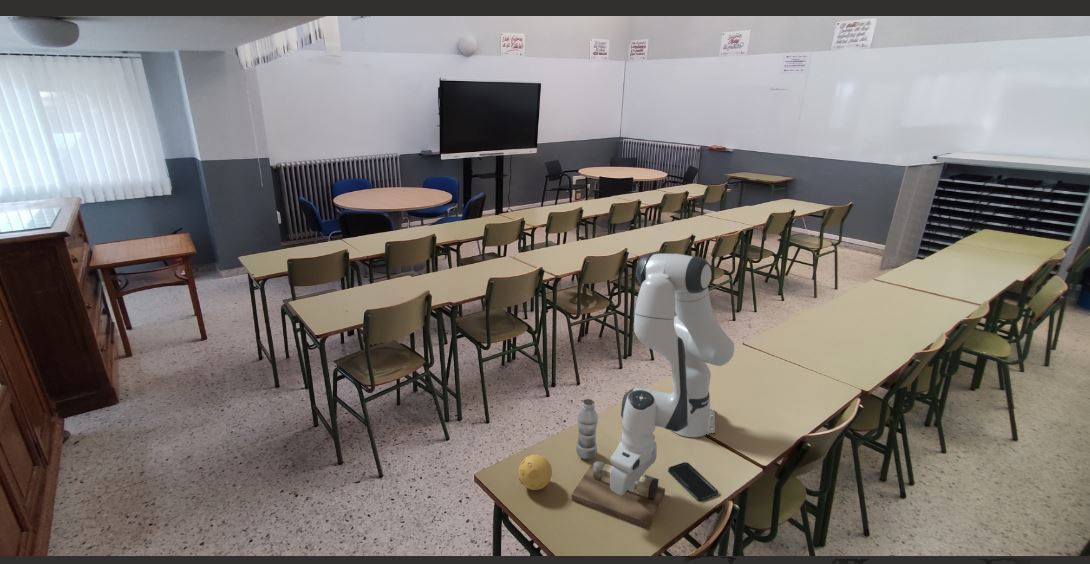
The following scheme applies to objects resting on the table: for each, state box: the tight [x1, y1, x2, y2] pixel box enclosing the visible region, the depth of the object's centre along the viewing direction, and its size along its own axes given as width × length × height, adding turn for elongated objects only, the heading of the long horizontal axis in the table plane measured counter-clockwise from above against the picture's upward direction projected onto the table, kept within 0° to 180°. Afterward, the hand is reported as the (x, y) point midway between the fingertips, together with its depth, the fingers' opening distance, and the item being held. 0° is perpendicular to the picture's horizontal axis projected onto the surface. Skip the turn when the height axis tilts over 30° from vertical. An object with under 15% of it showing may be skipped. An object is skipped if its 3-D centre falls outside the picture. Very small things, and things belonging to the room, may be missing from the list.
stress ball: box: [517, 453, 553, 491], centre depth 153 cm, size 10×10×10 cm
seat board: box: [570, 463, 666, 530], centre depth 150 cm, size 15×23×5 cm, turn 62°
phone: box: [667, 461, 719, 502], centre depth 157 cm, size 8×1×15 cm
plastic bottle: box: [575, 398, 599, 460], centre depth 165 cm, size 6×7×20 cm
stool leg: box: [593, 461, 659, 500], centre depth 152 cm, size 19×3×4 cm, turn 62°
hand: (632, 489), depth 148 cm, fingers closed
